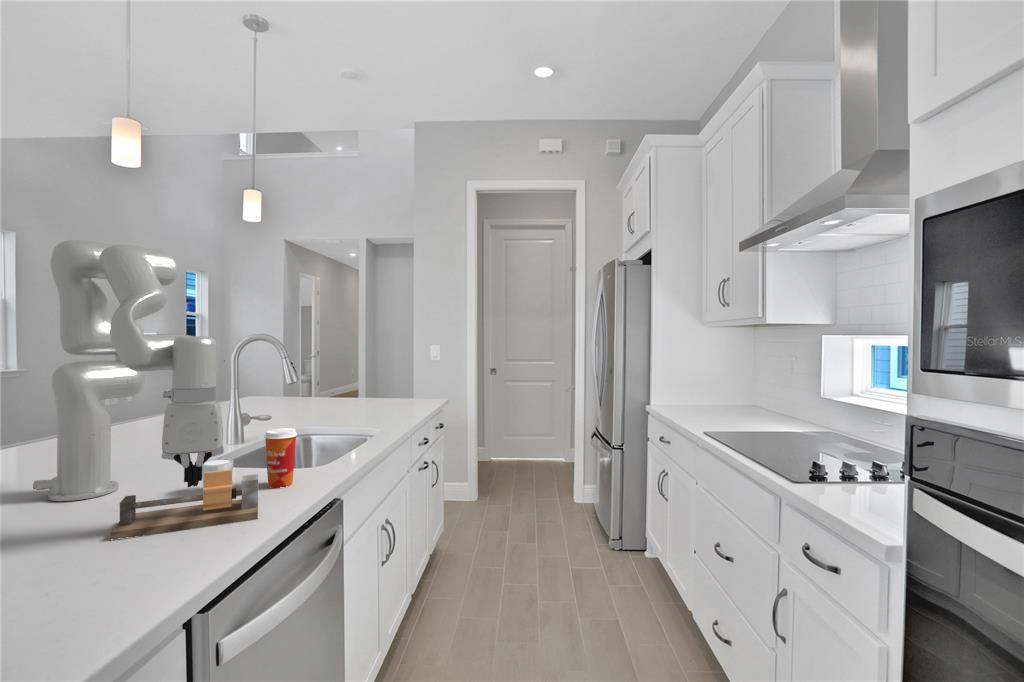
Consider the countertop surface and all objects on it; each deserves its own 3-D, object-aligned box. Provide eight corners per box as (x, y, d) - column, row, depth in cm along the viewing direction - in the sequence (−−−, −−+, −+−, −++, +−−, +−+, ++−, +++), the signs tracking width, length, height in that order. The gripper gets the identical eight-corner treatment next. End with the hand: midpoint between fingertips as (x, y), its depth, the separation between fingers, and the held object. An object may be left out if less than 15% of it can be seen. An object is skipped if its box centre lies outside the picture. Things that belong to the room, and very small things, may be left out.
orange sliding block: (202, 510, 97) (203, 475, 97) (205, 504, 101) (205, 470, 101) (231, 506, 99) (231, 472, 99) (232, 500, 103) (232, 467, 103)
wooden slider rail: (110, 540, 88) (110, 500, 88) (124, 521, 97) (124, 485, 97) (257, 518, 99) (257, 483, 99) (258, 503, 108) (258, 471, 108)
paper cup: (256, 487, 120) (257, 431, 120) (281, 479, 127) (282, 426, 127) (279, 491, 117) (280, 434, 117) (304, 482, 124) (304, 429, 124)
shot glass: (218, 496, 113) (218, 466, 113) (193, 493, 114) (193, 464, 114) (240, 487, 120) (240, 459, 120) (216, 485, 121) (216, 457, 121)
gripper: (145, 400, 91) (143, 495, 91) (235, 397, 98) (233, 485, 98) (153, 395, 98) (152, 484, 98) (237, 392, 105) (236, 475, 105)
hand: (193, 484), depth 98 cm, fingers closed
